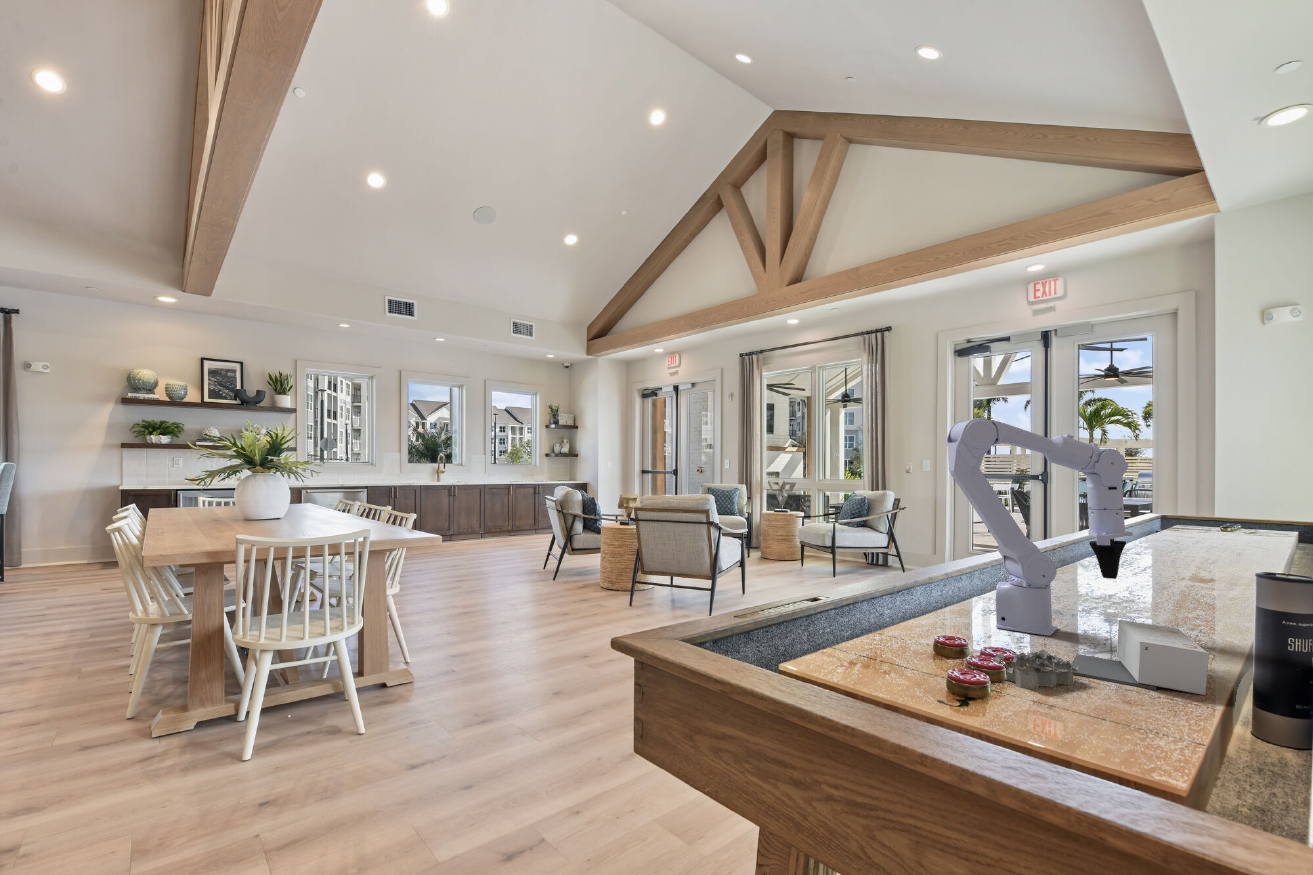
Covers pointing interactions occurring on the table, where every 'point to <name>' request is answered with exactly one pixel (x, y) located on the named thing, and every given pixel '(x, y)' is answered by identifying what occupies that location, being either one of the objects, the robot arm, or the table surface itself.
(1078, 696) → the table surface
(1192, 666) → the small box
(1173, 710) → the table surface
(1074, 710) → the table surface
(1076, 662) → the mat
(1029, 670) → the egg carton
